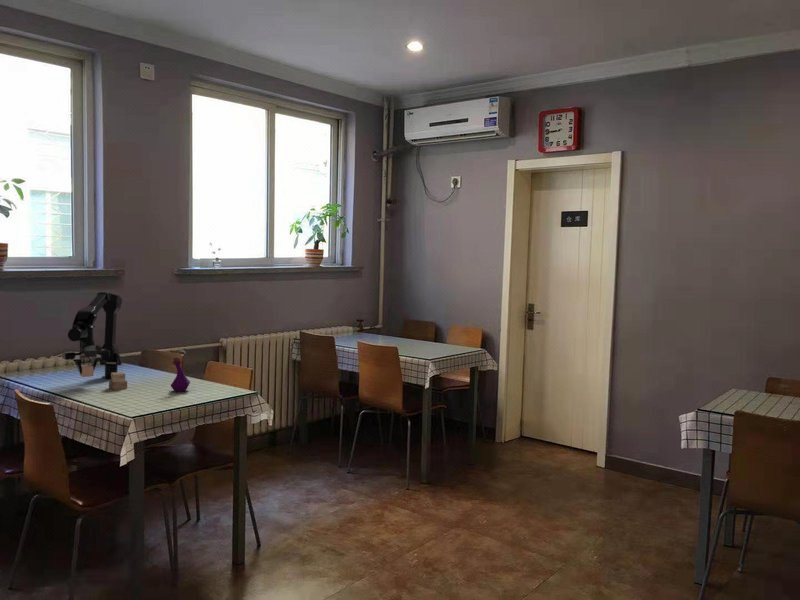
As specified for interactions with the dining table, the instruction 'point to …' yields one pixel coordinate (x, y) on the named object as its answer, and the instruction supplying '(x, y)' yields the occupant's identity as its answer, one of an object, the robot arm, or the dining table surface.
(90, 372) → the cube
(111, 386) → the tower base
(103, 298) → the robot arm
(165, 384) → the dining table surface
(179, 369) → the purple faceted vase
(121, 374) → the tower mid
